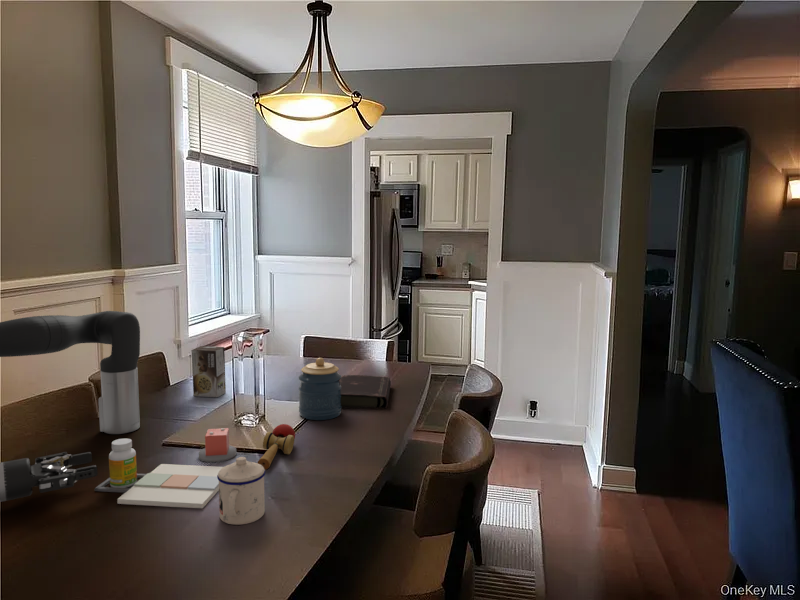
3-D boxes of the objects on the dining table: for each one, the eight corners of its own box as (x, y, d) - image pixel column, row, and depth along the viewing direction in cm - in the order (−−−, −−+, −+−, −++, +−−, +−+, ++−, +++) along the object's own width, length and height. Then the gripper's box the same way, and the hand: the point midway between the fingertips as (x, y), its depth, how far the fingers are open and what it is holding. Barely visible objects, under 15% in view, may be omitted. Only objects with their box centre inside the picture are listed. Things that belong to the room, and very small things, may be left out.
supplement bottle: (126, 490, 124) (124, 446, 123) (104, 487, 125) (102, 444, 124) (142, 479, 130) (140, 438, 128) (121, 477, 131) (119, 436, 129)
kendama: (283, 476, 136) (303, 438, 153) (277, 452, 134) (298, 417, 152) (252, 479, 137) (276, 442, 154) (245, 455, 135) (270, 420, 153)
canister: (303, 407, 184) (303, 352, 182) (344, 408, 183) (344, 353, 181) (294, 420, 171) (294, 362, 169) (338, 421, 170) (338, 363, 168)
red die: (195, 463, 139) (194, 437, 138) (201, 449, 148) (201, 424, 147) (234, 461, 140) (233, 435, 140) (238, 447, 149) (237, 423, 148)
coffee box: (226, 392, 199) (225, 346, 197) (217, 397, 193) (216, 350, 191) (202, 391, 200) (200, 345, 199) (192, 396, 194) (190, 349, 192)
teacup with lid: (226, 503, 119) (225, 449, 117) (270, 504, 119) (269, 449, 117) (206, 534, 107) (205, 474, 106) (255, 534, 107) (254, 474, 106)
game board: (80, 501, 119) (79, 495, 119) (128, 466, 137) (128, 460, 137) (202, 508, 117) (202, 501, 116) (235, 471, 134) (235, 465, 134)
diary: (390, 389, 208) (391, 375, 208) (387, 410, 184) (388, 395, 183) (339, 387, 209) (339, 374, 208) (329, 408, 184) (329, 393, 183)
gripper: (1, 476, 108) (98, 457, 117) (1, 452, 120) (89, 436, 129) (4, 514, 109) (100, 492, 118) (3, 486, 121) (90, 468, 130)
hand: (94, 463), depth 124 cm, fingers open, 8 cm apart
